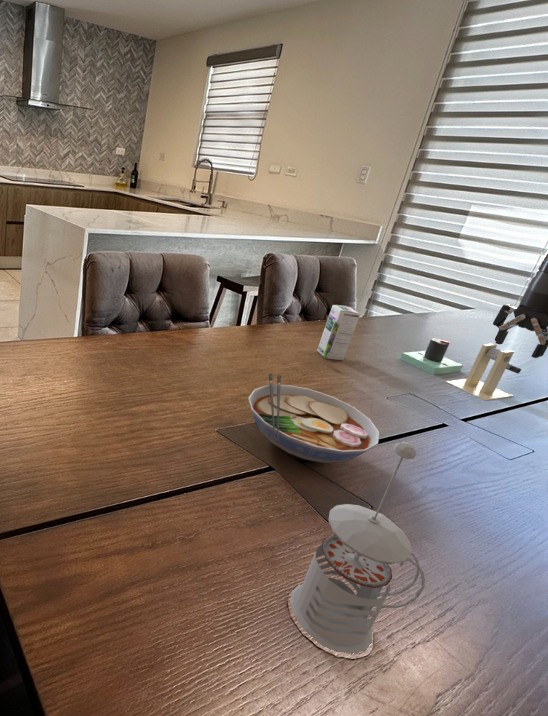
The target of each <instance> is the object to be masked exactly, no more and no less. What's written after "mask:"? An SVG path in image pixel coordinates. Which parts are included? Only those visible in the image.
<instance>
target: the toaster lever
mask: <svg viewBox="0 0 548 716" xmlns="http://www.w3.org/2000/svg"><path fill="white" fill-rule="evenodd" d="M500 351H502V350H501V349H499V348H497V347H496V348H493V347H491V349H490V350H489V351H488V353H487V354H486V355H487V356H488V357H489V358H490V360H492V361H495V360H496V358H497V356H498V354H499V352H500ZM505 370H507V371H510V372H512V373H515V374H518V375H519V374H520V373H521V371H522V369H521V368H520V367H517V366H514V365H513V364H510V362H509V363H508V365H507V367H506V369H505Z"/></svg>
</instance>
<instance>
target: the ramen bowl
mask: <svg viewBox="0 0 548 716" xmlns="http://www.w3.org/2000/svg"><path fill="white" fill-rule="evenodd" d="M273 375H274V374H273V373H271V372H269V374H268V383H269V384H267V385H263V386H261V387H257V388H255V389H253V391H252V392H251V393H250V395H249V396H248V403H249V406H250V410H251V414H252V417H253V419H254V422H255V424H256V426H257V427H258V429H259V431H260V432H261V433H262V434H263V435H264V436H265V438H266V439H268V441H269V442H271V443H272V444H273V445H274V446H276V447H278V448H279V449H281V450H283V451H284V452H286V453H287V454H290V455H292V456H295V457H298V458H300V459H303V460H305V461H312V462H316V463H323V464H331V463H345V462H347V461H351V460H353V459H355V458H357V457H359V456H362V455H363V454H365V453H366V452H368V451H369V450H371V449H372V448H374V447H375V446H377V445H378V444H379V440H380V431H379V430H378V427H377V426H375V424H374V423H373V421H372V420H371V418H369V417H368V416H367V415H365V413H363V412H361V411H360V410H359V409H357V408H356V407H354V405H352V404H349V403H347V402H345V401H342V400H340V399H339V398H336V397H334V396H332V395H329V394H326V393H323V392H321V391H317V390H314V389H311V388H307V387H301V386H297V385H295V386H294V385H289V384H282V375H280V374H278V375H277V378H276V379H277V380H276V381H277V384H274V380H273V379H274V377H273Z"/></svg>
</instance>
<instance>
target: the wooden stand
mask: <svg viewBox="0 0 548 716" xmlns="http://www.w3.org/2000/svg"><path fill="white" fill-rule="evenodd" d="M497 346H498V344H496V343H495V344H494V343H487V344H485V343H484V344H482V346H481V347H480V350H479V351H478V354H477V356H476V358H475V360H474V362H473V363H472V366H471V369H470V371H469V373H468V375H467V377H466V378H461V379H453V380H445V381H444V382H445V383H446V384H449V385H450V386H453V387H455V388H457V389H459V390H461V391H462V392H463V391H464V392H465V393H467V394H470V395H472V396H474V397H476V398H478V399H480V400H481V401H485V402H486V401H493V400H497V399H498V400H499V399H503V398H511V397H513V396H514V395H513V394H510V393H508V392H506V391H503V390H501V389H499V388H497V387H498V385H499V383H500V381H501V379H502V377H503V375H504V373H505V371H506V370H507V369H506V367H507V365H508V363H509V364H510V361H511V360H512V357H513V355H514V353H515V351H513V350H510V349H508V350H501V351H500V352H499V354H498V356H497V358H496V360H494V362H493V364H492V366H491V368H490V370H489V372H488V373H487V376H486V378H485V380H484V382H483V381H481V380H482V377H483V375H484V373H485V371H486V369H487V367H488V365H489V363H490V361H491V359H490V358H489V357H488V356H487V355H486V354H487V353H488V351H489V350H490V349H491V347H493V348H496V349H497Z"/></svg>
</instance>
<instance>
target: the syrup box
mask: <svg viewBox="0 0 548 716" xmlns="http://www.w3.org/2000/svg"><path fill="white" fill-rule="evenodd" d="M360 316H361V313H360V312H358V311H356V309H354V308H353V307H350V306H347V305H341V304H332V306H331V309H330V312H329V314H328V317H327V319H326V323H325V326H324V329H323V331H322V336H321V338H320V340H319V344H318V347H317V350H316V351H317V353H319V354H320V355H321V356H322V357H323V358H324V359H328V360H337V361H344V359H345V358H346V354H347V352H348V349H349V346H350V344H351V341H352V338H353V335H354V332H355V330H356V327H357V324H358V322H359V319H360Z"/></svg>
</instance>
